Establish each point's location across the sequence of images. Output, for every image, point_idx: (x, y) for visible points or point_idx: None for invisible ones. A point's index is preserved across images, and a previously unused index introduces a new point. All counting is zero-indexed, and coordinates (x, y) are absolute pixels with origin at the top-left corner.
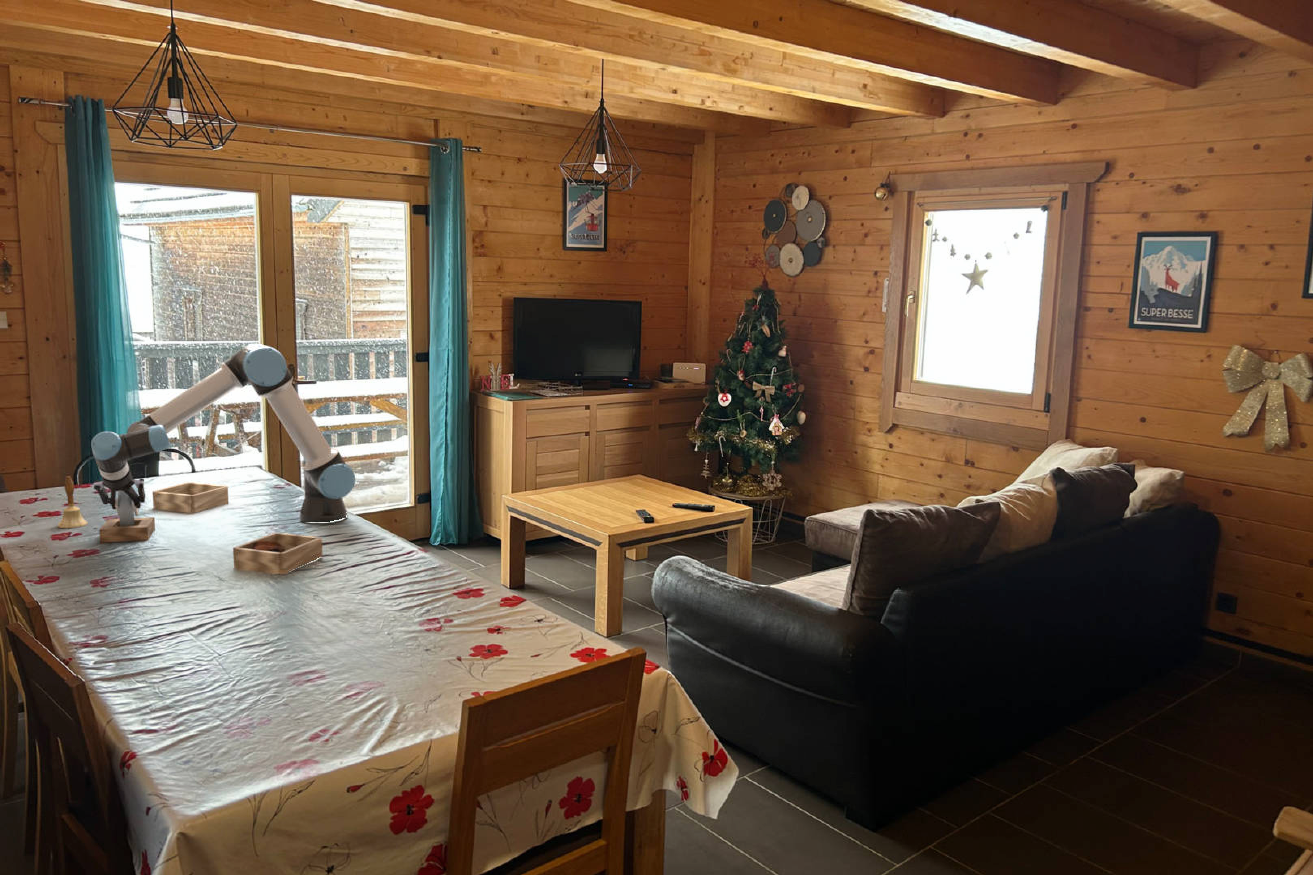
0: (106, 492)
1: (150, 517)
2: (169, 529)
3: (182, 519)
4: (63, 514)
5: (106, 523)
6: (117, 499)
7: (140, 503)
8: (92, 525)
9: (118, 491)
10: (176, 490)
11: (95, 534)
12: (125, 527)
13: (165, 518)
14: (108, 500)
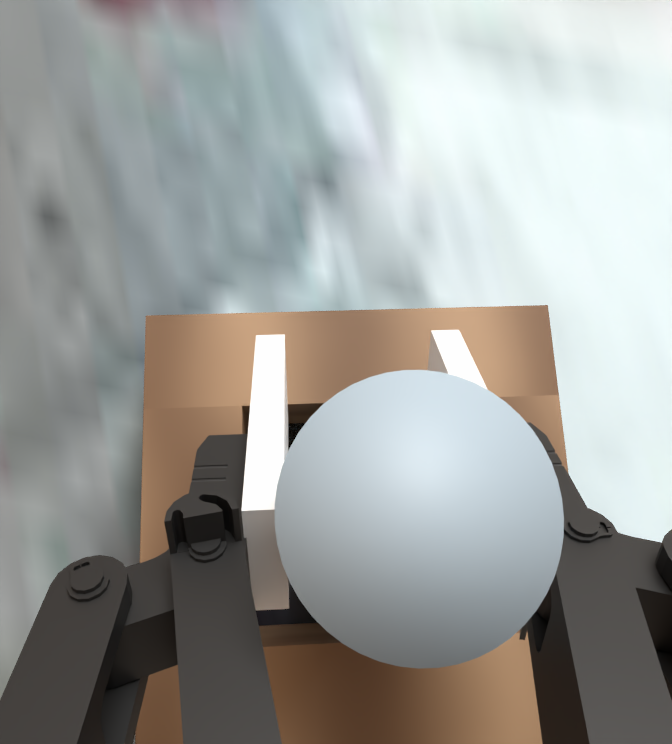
0: (78, 740)
1: (517, 315)
2: (620, 363)
3: (627, 77)
4: None
5: (159, 487)
6: (272, 531)
7: (551, 459)
8: (12, 123)
9: (308, 610)
10: None
11: (79, 417)
12: (384, 715)
13: (497, 25)
14: (151, 662)
